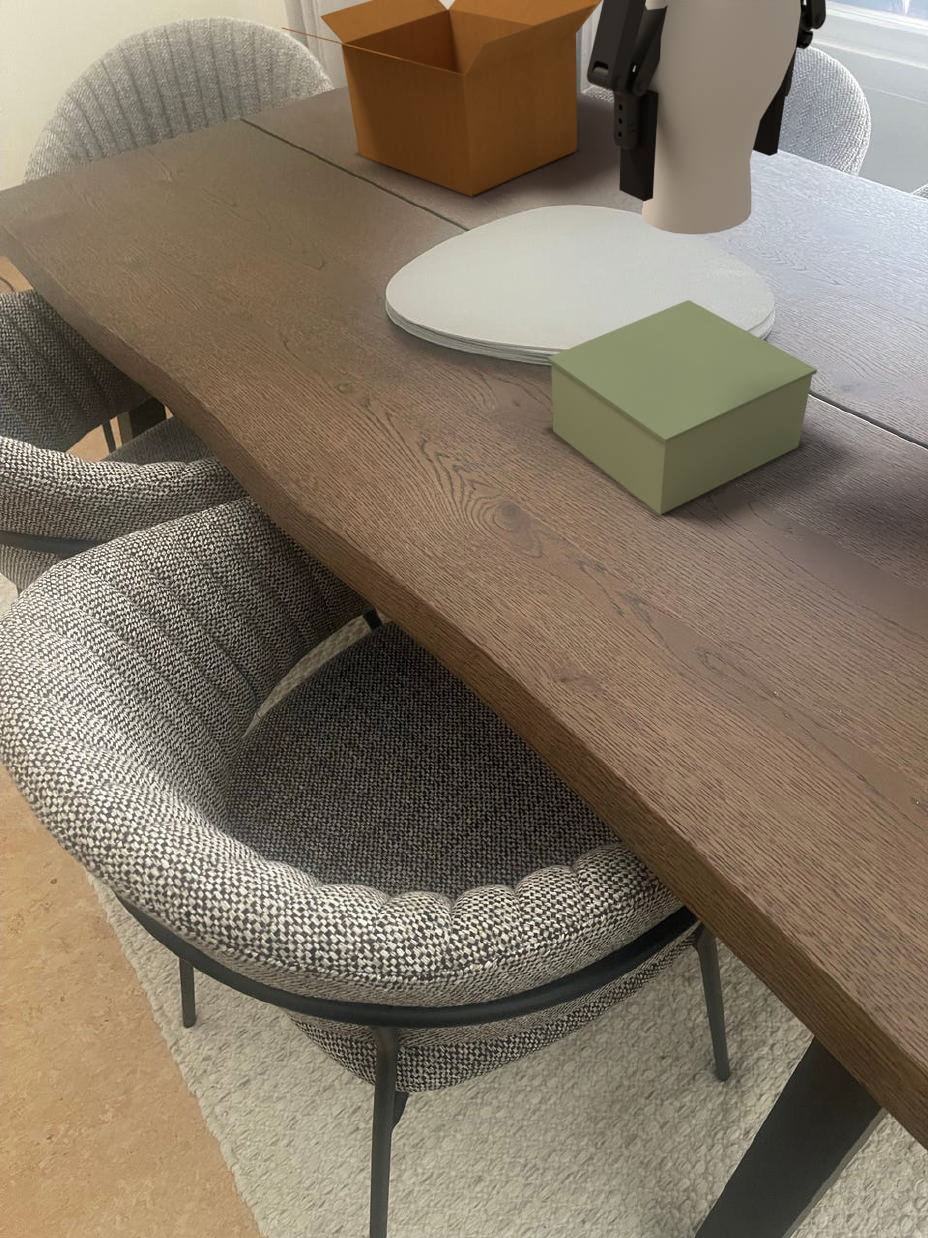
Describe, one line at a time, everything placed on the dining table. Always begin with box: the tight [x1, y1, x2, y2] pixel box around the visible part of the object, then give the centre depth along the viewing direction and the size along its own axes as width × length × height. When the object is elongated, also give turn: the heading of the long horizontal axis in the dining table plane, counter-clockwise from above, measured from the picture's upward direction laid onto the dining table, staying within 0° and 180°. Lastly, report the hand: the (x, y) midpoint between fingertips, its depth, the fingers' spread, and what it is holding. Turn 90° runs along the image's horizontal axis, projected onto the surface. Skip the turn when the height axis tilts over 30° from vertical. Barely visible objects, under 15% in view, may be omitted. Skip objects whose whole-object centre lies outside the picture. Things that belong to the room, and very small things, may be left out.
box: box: [281, 0, 603, 197], centre depth 137 cm, size 39×37×21 cm
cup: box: [633, 0, 801, 235], centre depth 62 cm, size 11×11×15 cm
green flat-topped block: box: [547, 299, 818, 516], centre depth 85 cm, size 16×16×8 cm
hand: (699, 171), depth 66 cm, fingers closed on cup, 11 cm apart
